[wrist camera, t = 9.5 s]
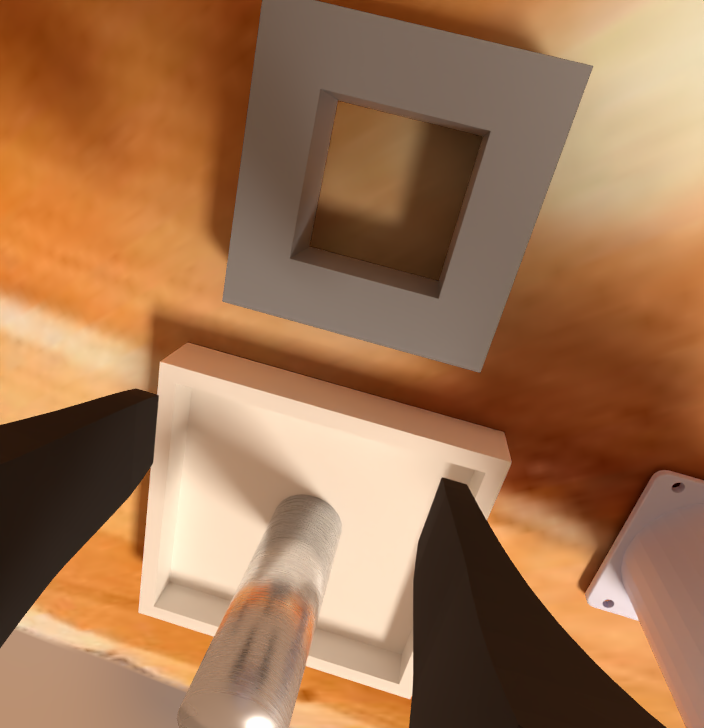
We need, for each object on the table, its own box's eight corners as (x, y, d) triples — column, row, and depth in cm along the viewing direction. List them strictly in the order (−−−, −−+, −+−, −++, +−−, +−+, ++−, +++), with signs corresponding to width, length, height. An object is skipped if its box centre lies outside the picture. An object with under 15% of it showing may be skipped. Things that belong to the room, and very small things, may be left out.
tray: (504, 432, 22) (511, 462, 20) (412, 655, 28) (410, 699, 26) (187, 342, 23) (160, 361, 21) (162, 577, 29) (138, 612, 27)
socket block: (568, 82, 17) (593, 66, 14) (474, 345, 21) (480, 373, 18) (290, 15, 18) (263, -13, 15) (249, 284, 22) (222, 301, 19)
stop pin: (349, 506, 24) (292, 715, 15) (333, 560, 26) (273, 781, 16) (280, 485, 24) (183, 678, 15) (268, 540, 26) (172, 746, 17)
